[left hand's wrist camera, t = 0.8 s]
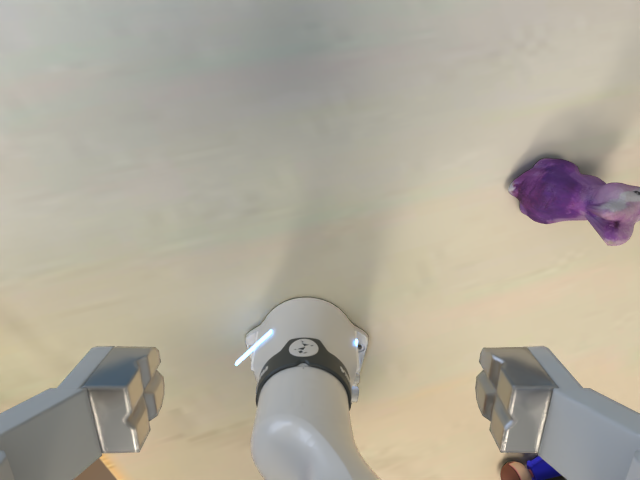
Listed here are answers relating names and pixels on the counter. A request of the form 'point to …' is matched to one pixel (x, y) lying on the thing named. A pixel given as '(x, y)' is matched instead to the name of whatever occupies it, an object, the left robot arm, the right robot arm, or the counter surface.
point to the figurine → (577, 199)
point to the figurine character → (530, 471)
